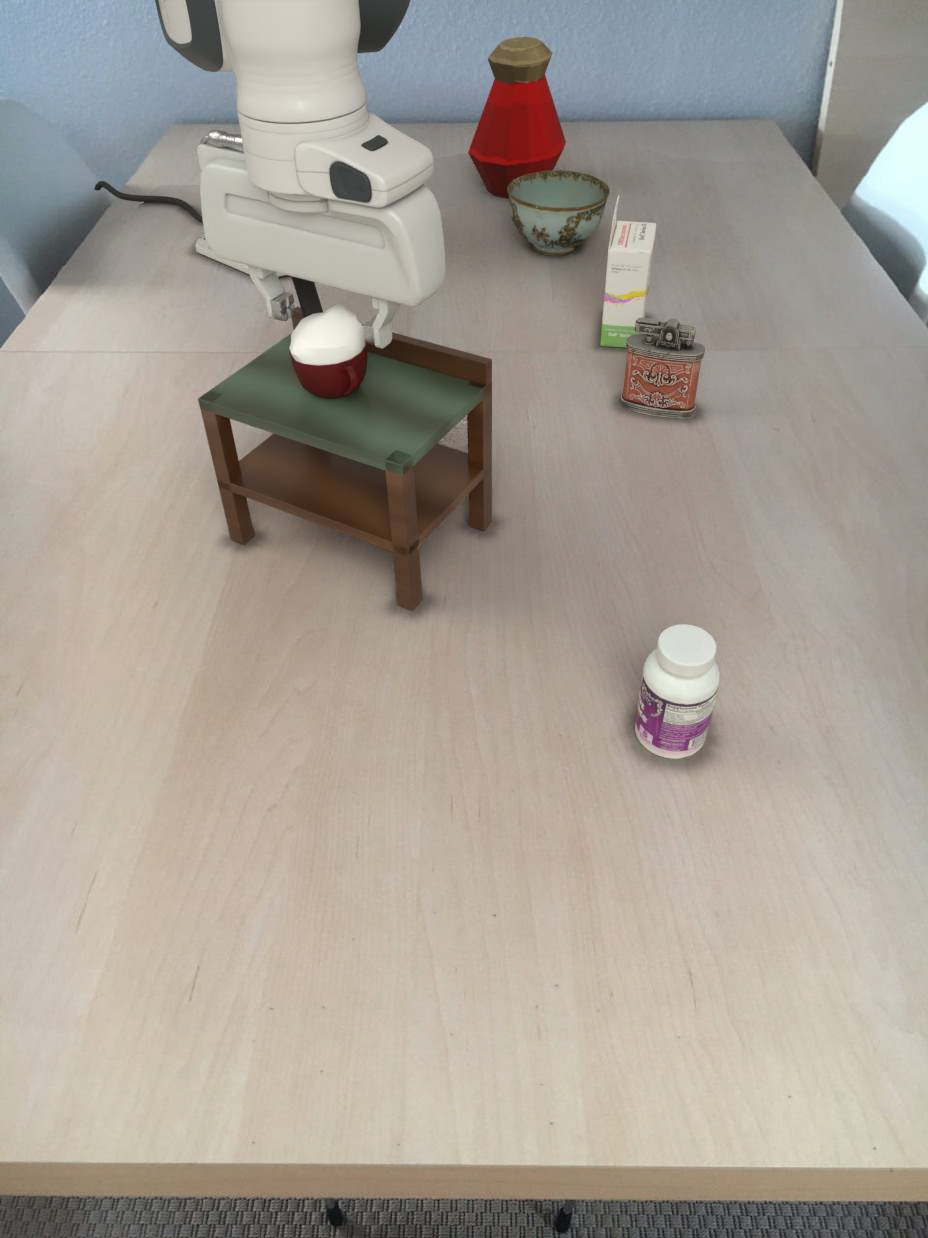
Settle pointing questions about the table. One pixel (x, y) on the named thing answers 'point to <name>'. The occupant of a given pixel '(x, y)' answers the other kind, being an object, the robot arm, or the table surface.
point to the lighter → (662, 369)
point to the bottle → (517, 117)
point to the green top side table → (359, 447)
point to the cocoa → (327, 346)
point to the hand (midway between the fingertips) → (329, 330)
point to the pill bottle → (678, 692)
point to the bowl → (557, 209)
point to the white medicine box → (626, 279)
